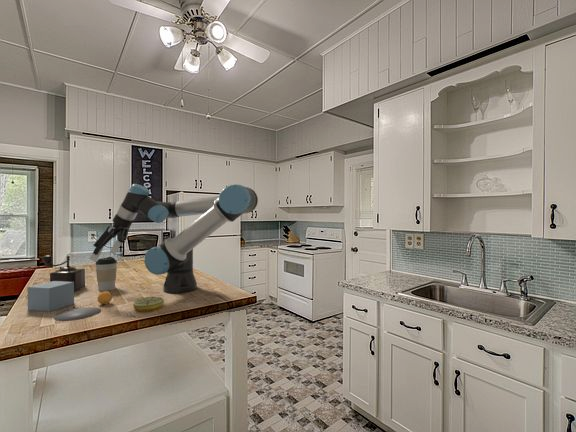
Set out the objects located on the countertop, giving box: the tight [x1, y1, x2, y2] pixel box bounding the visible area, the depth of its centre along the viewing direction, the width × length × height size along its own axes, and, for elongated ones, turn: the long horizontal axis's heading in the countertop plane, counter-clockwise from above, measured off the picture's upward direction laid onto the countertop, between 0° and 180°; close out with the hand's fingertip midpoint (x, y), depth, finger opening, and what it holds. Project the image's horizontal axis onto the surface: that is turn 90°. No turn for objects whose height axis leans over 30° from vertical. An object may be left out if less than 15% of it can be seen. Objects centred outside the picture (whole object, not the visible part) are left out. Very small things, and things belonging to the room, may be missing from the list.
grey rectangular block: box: [27, 281, 75, 312], centre depth 118 cm, size 10×10×9 cm
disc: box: [53, 306, 102, 322], centre depth 110 cm, size 14×14×1 cm
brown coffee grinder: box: [41, 254, 86, 293], centre depth 142 cm, size 16×11×18 cm
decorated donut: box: [132, 296, 165, 313], centre depth 116 cm, size 10×11×4 cm
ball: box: [97, 290, 113, 305], centre depth 121 cm, size 5×5×5 cm
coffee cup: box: [95, 256, 118, 292], centre depth 146 cm, size 9×9×15 cm
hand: (103, 256), depth 136 cm, fingers open, 13 cm apart
